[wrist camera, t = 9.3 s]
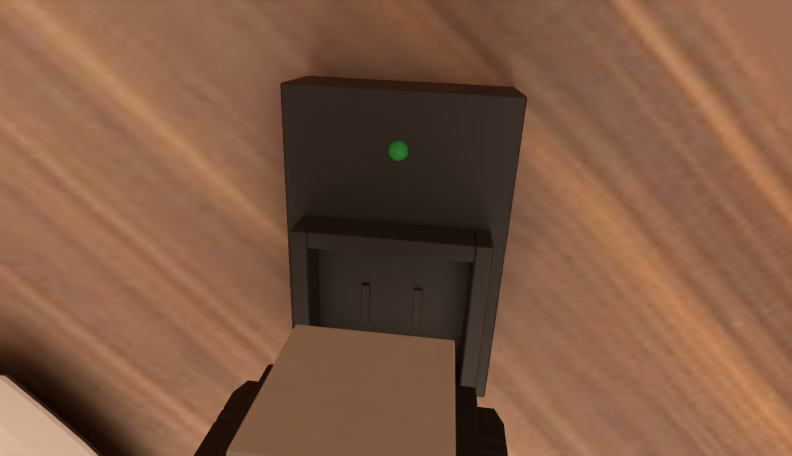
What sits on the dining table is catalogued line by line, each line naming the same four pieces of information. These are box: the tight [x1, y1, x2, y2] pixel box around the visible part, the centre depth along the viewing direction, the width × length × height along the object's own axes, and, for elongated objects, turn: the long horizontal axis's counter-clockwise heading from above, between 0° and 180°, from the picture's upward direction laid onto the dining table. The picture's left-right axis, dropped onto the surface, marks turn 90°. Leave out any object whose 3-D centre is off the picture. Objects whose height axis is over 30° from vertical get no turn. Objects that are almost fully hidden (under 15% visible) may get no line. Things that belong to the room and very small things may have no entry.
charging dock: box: [281, 76, 527, 397], centre depth 18 cm, size 12×8×4 cm, turn 178°
